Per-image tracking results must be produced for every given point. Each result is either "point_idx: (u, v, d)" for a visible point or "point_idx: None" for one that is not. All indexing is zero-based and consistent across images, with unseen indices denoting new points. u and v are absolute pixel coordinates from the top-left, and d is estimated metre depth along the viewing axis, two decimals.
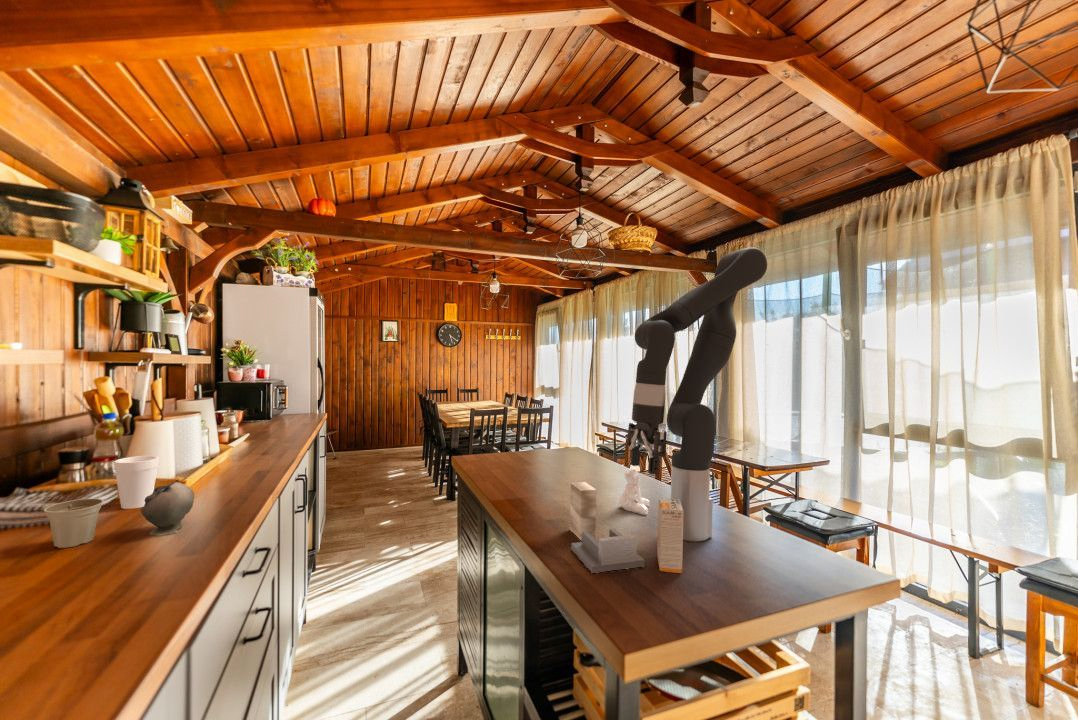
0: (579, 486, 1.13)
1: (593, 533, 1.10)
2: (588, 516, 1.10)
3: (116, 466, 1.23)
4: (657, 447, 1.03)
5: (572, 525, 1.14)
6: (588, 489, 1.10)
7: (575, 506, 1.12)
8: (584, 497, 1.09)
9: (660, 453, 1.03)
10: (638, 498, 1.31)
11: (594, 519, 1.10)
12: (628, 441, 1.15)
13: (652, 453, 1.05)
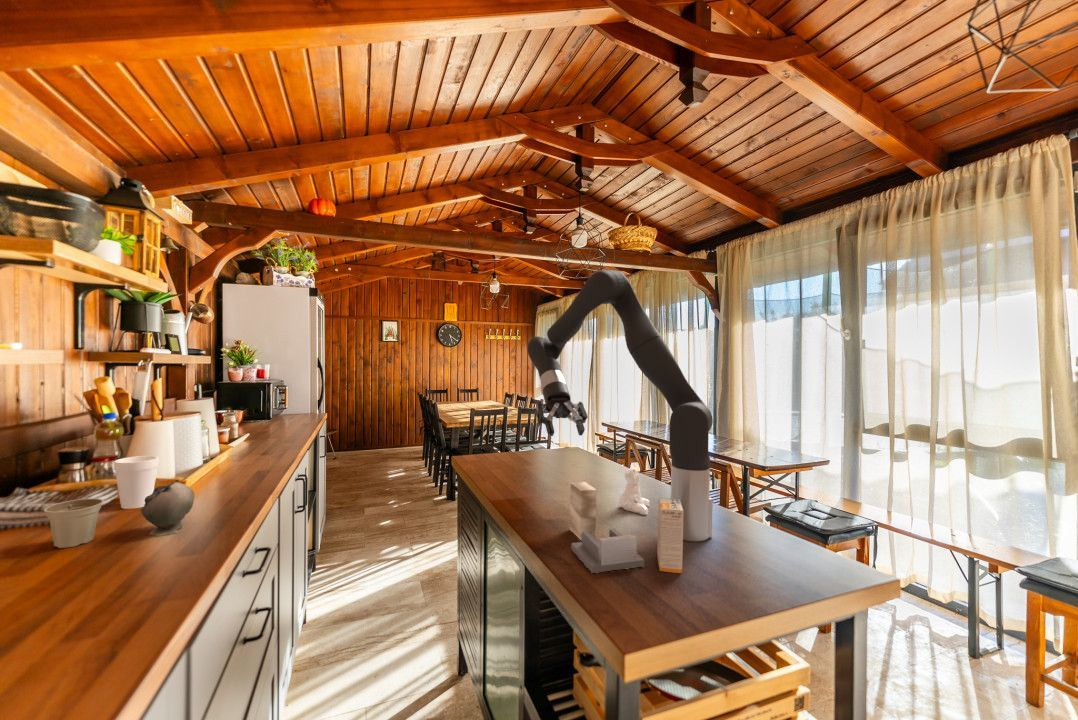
0: (579, 486, 1.13)
1: (593, 533, 1.10)
2: (588, 516, 1.10)
3: (116, 466, 1.23)
4: (537, 416, 1.27)
5: (572, 525, 1.14)
6: (588, 489, 1.10)
7: (575, 506, 1.12)
8: (584, 497, 1.09)
9: (538, 418, 1.25)
10: (638, 498, 1.31)
11: (594, 519, 1.10)
12: None
13: None
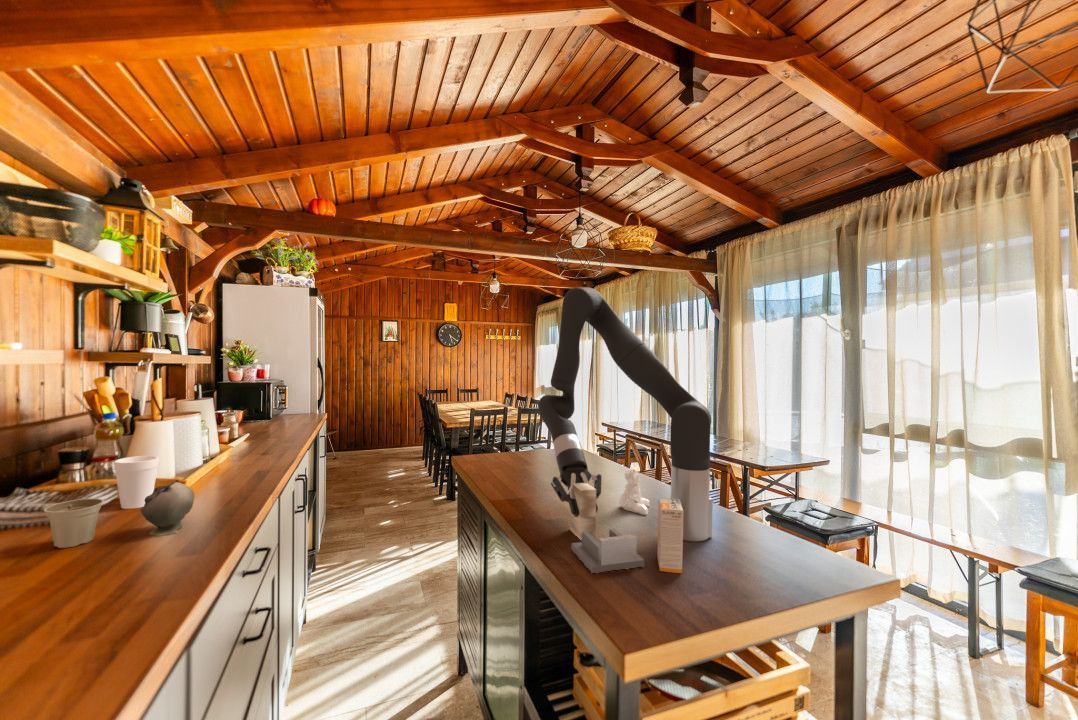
0: (579, 486, 1.13)
1: (593, 533, 1.10)
2: (588, 516, 1.10)
3: (116, 466, 1.23)
4: (557, 494, 1.14)
5: (572, 525, 1.14)
6: (588, 489, 1.10)
7: None
8: (584, 497, 1.09)
9: (561, 496, 1.13)
10: (638, 498, 1.31)
11: (594, 519, 1.10)
12: None
13: None
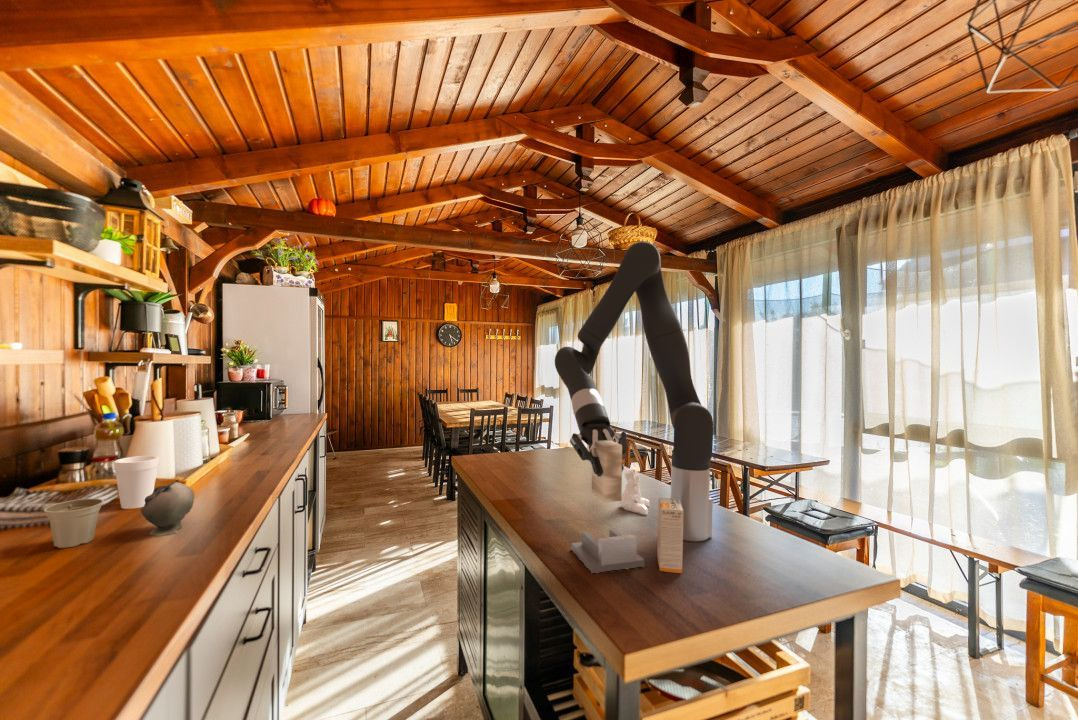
0: (602, 442, 1.00)
1: (619, 494, 0.97)
2: (614, 475, 0.97)
3: (116, 466, 1.23)
4: (578, 452, 1.02)
5: (594, 487, 1.01)
6: (613, 445, 0.97)
7: None
8: (609, 454, 0.97)
9: (582, 454, 1.01)
10: (638, 498, 1.31)
11: (620, 478, 0.97)
12: None
13: None
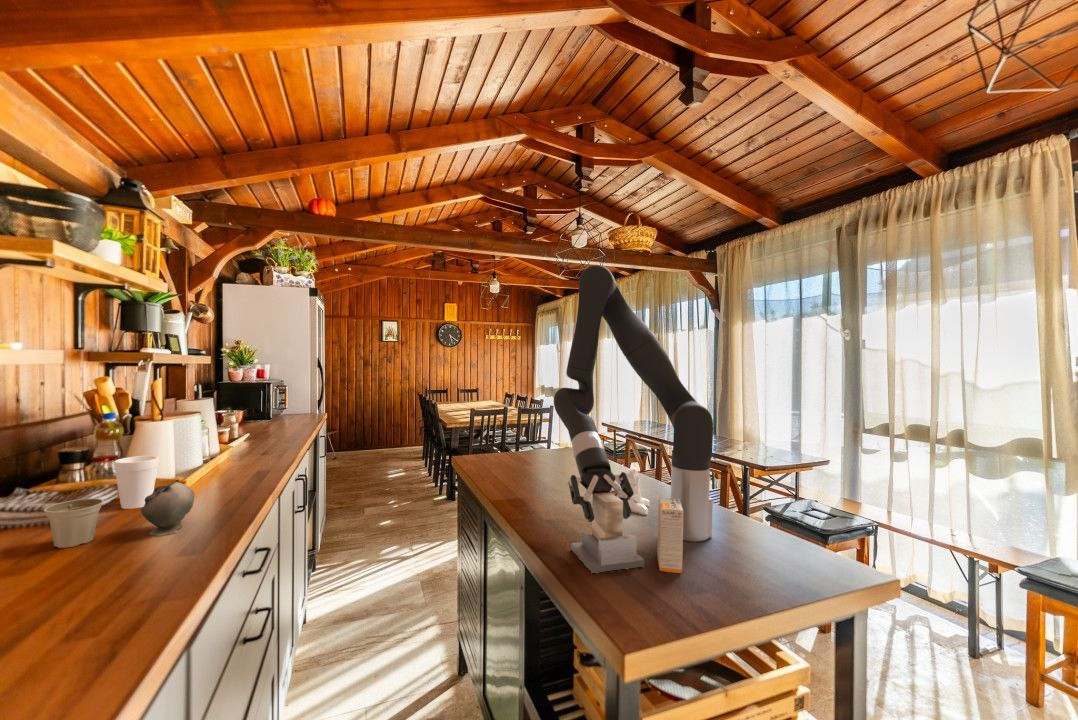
0: (603, 496, 0.99)
1: None
2: (614, 532, 0.96)
3: (116, 466, 1.23)
4: (571, 495, 1.01)
5: None
6: (614, 500, 0.97)
7: (599, 519, 0.99)
8: (609, 510, 0.96)
9: (573, 498, 1.00)
10: (638, 498, 1.31)
11: (620, 535, 0.97)
12: None
13: None
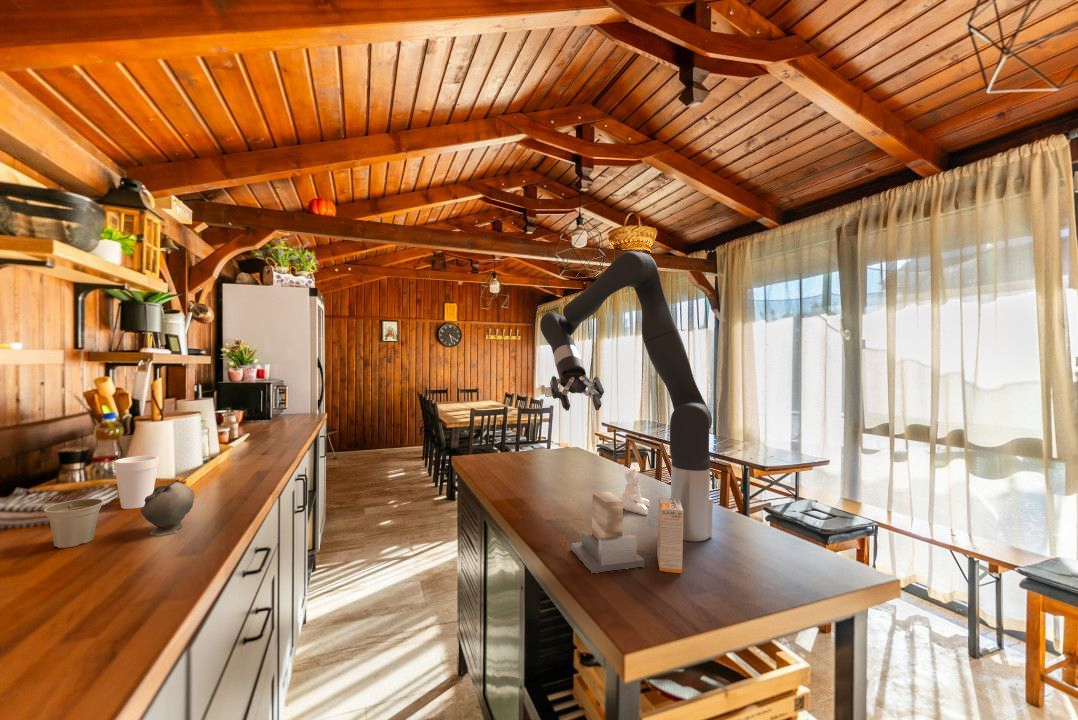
0: (603, 496, 0.99)
1: None
2: (614, 532, 0.96)
3: (116, 466, 1.23)
4: (552, 391, 1.22)
5: None
6: (614, 500, 0.97)
7: (599, 519, 0.99)
8: (609, 510, 0.96)
9: (553, 393, 1.20)
10: (638, 498, 1.31)
11: (620, 535, 0.97)
12: None
13: None
